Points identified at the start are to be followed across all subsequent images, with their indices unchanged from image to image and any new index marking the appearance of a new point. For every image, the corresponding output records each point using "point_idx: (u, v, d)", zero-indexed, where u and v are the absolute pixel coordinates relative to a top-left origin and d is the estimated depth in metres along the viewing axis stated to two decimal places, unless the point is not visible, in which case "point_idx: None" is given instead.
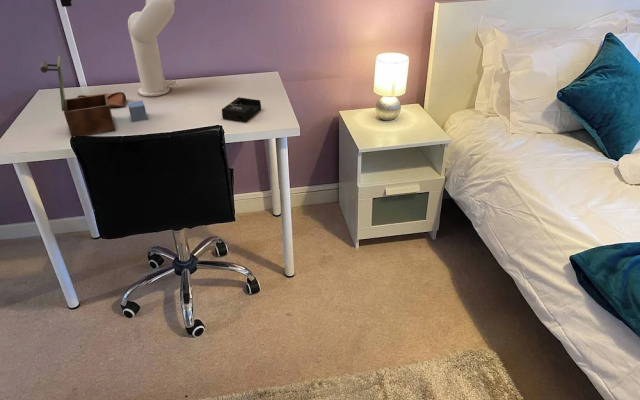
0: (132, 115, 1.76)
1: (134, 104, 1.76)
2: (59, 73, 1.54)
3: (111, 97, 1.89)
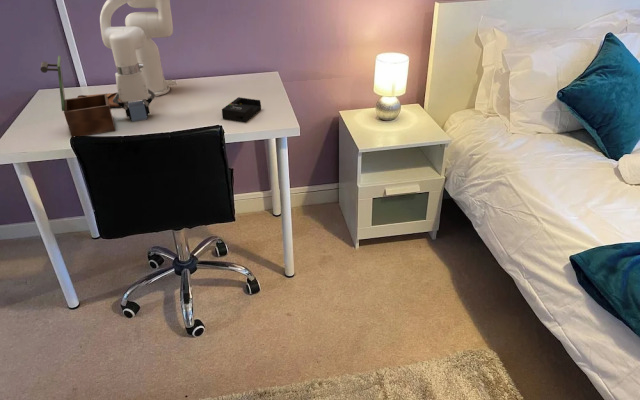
0: (132, 115, 1.76)
1: (134, 104, 1.76)
2: (59, 73, 1.54)
3: (111, 97, 1.89)
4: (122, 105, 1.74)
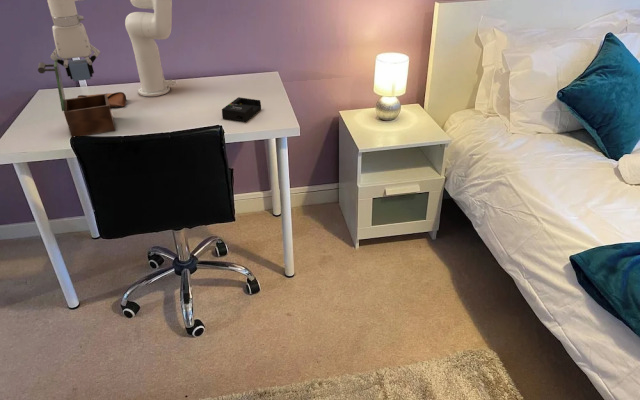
0: (73, 74, 1.59)
1: (76, 62, 1.59)
2: (56, 73, 1.54)
3: (111, 97, 1.89)
4: (61, 62, 1.58)
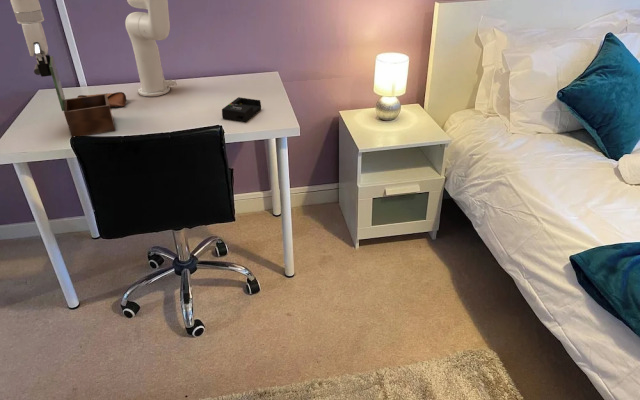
0: None
1: None
2: (52, 73, 1.53)
3: (111, 97, 1.89)
4: (43, 59, 1.51)
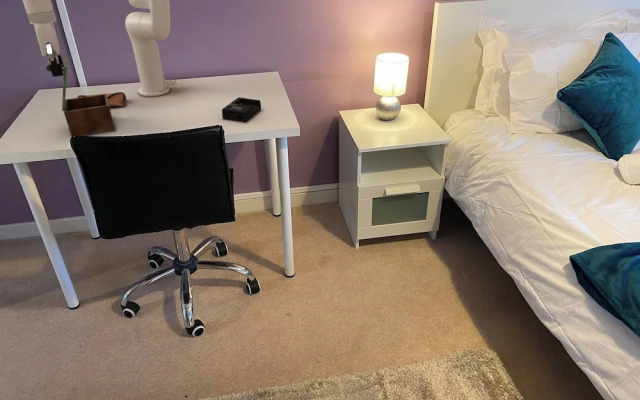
0: None
1: None
2: (65, 74, 1.55)
3: (111, 97, 1.89)
4: (55, 59, 1.52)
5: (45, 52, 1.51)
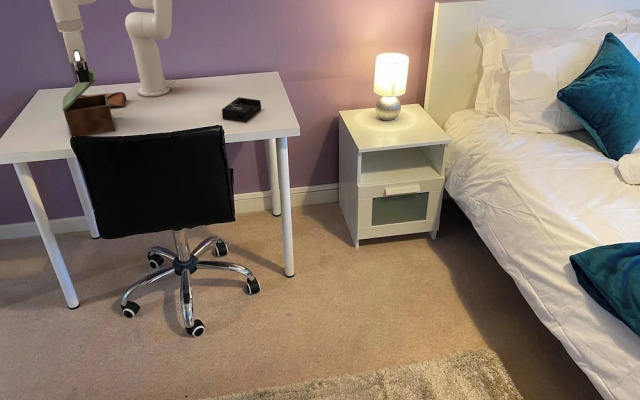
0: None
1: None
2: (89, 84, 1.59)
3: (111, 97, 1.89)
4: (82, 66, 1.56)
5: (73, 59, 1.55)
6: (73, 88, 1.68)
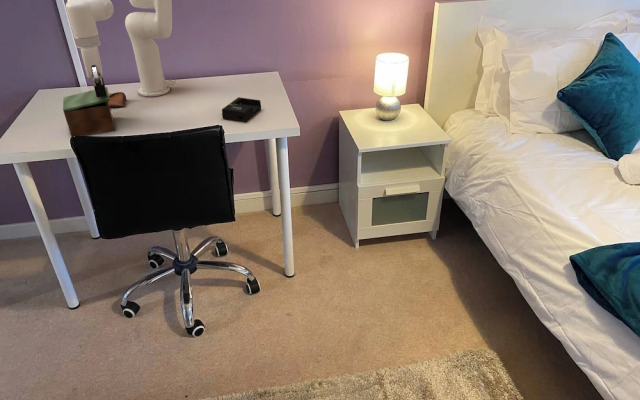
0: None
1: None
2: (102, 101, 1.64)
3: (111, 97, 1.89)
4: None
5: (91, 75, 1.60)
6: (79, 95, 1.70)
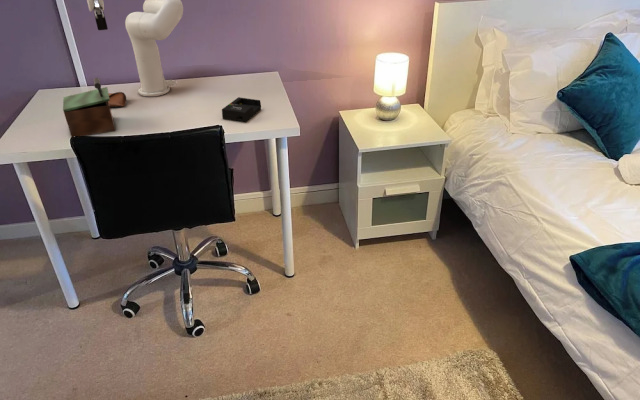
0: None
1: None
2: (102, 101, 1.64)
3: (111, 97, 1.89)
4: (101, 13, 1.64)
5: (92, 6, 1.63)
6: (79, 95, 1.70)
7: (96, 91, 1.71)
